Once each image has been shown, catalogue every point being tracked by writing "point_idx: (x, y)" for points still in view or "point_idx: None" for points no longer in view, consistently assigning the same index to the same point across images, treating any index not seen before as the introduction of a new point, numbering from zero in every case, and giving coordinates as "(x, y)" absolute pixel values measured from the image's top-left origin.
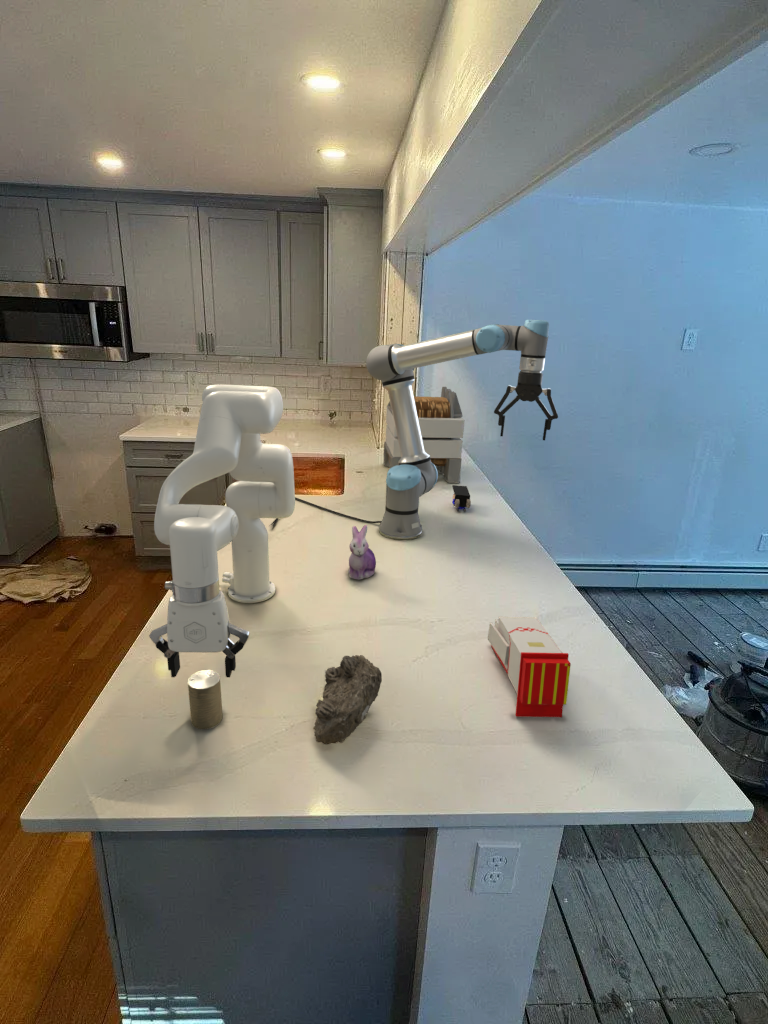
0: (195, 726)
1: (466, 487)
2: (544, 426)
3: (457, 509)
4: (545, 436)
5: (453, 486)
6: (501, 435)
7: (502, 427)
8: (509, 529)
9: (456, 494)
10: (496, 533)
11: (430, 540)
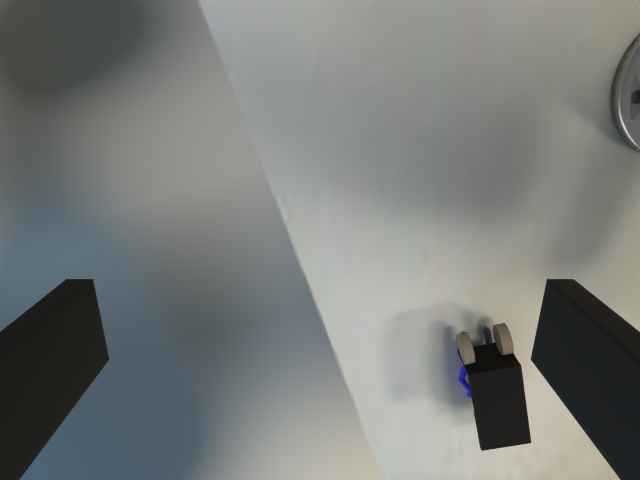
0: None
1: (482, 440)
2: (10, 444)
3: (490, 335)
4: (41, 302)
5: (527, 432)
6: (565, 285)
7: (630, 336)
8: (323, 238)
9: (517, 369)
10: (362, 190)
11: (582, 46)
